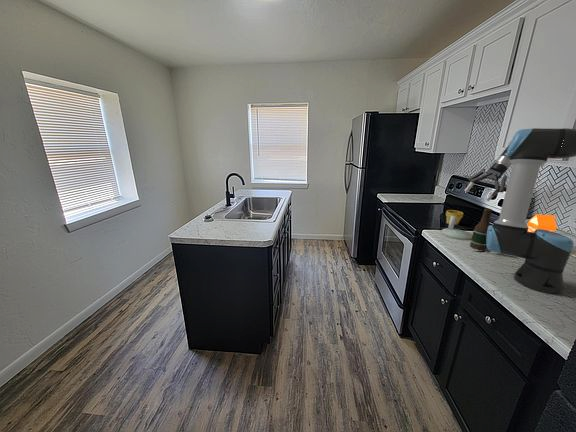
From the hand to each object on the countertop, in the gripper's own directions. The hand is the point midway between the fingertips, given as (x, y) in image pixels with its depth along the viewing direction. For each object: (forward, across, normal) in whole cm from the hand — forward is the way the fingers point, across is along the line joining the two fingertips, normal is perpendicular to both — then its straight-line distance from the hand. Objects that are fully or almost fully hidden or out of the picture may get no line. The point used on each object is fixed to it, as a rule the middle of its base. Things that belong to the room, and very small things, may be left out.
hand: (475, 195), depth 150 cm
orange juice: (+9, -29, -30) cm, 43 cm away
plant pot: (+20, +14, -26) cm, 36 cm away
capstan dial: (+26, -3, -6) cm, 26 cm away
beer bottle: (+27, -21, +1) cm, 34 cm away
